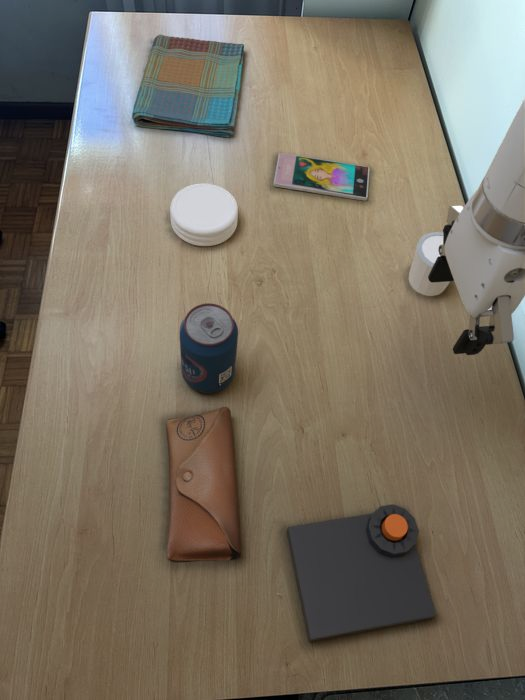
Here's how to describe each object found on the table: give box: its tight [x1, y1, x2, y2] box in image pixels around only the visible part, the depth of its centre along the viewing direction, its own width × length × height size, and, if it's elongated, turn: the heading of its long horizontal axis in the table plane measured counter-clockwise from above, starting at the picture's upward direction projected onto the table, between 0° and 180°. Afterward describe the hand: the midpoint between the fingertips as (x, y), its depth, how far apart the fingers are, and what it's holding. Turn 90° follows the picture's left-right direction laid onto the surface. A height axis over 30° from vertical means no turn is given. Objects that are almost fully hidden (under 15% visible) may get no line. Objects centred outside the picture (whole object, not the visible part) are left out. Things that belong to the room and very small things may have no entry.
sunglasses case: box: [165, 406, 242, 563], centre depth 78 cm, size 18×7×7 cm
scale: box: [286, 503, 437, 643], centre depth 74 cm, size 14×12×4 cm
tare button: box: [382, 514, 408, 541], centre depth 74 cm, size 3×3×2 cm
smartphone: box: [272, 152, 370, 202], centre depth 107 cm, size 7×1×15 cm
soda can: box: [179, 302, 239, 394], centre depth 82 cm, size 7×7×12 cm
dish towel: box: [131, 34, 245, 138], centre depth 115 cm, size 17×23×2 cm
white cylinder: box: [408, 231, 451, 297], centre depth 95 cm, size 7×7×7 cm
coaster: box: [169, 182, 239, 247], centre depth 99 cm, size 10×10×4 cm
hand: (452, 314), depth 75 cm, fingers open, 9 cm apart
